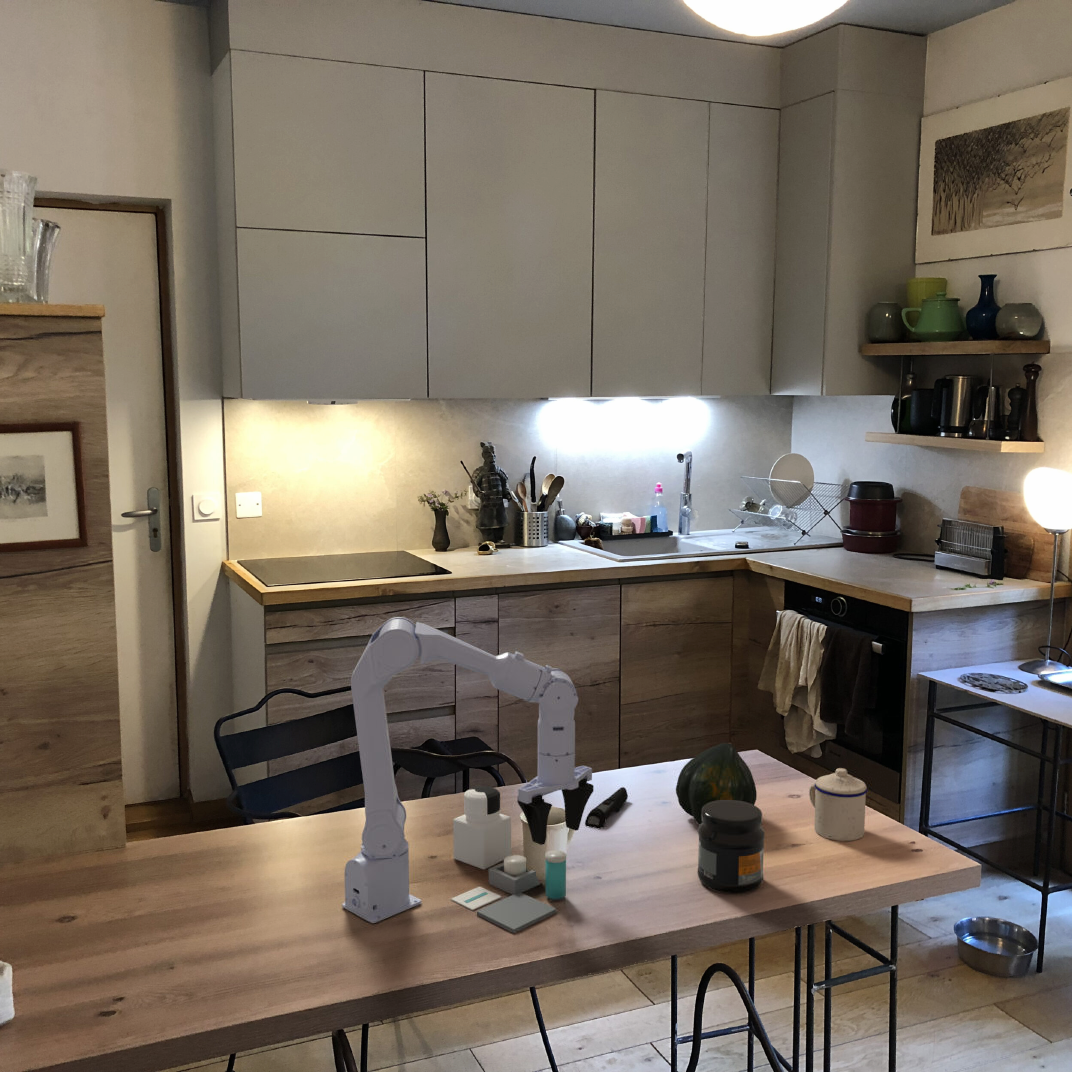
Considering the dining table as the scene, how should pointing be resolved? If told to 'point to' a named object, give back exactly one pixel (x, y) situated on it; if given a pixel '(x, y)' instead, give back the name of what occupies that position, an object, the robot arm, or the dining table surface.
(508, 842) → the medicine bottle
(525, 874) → the button box
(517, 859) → the button
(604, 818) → the electric trimmer
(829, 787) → the teacup with lid
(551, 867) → the marker
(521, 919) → the board
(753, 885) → the supplement container
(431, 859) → the dining table surface
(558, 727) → the robot arm
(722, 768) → the squash
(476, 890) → the card
